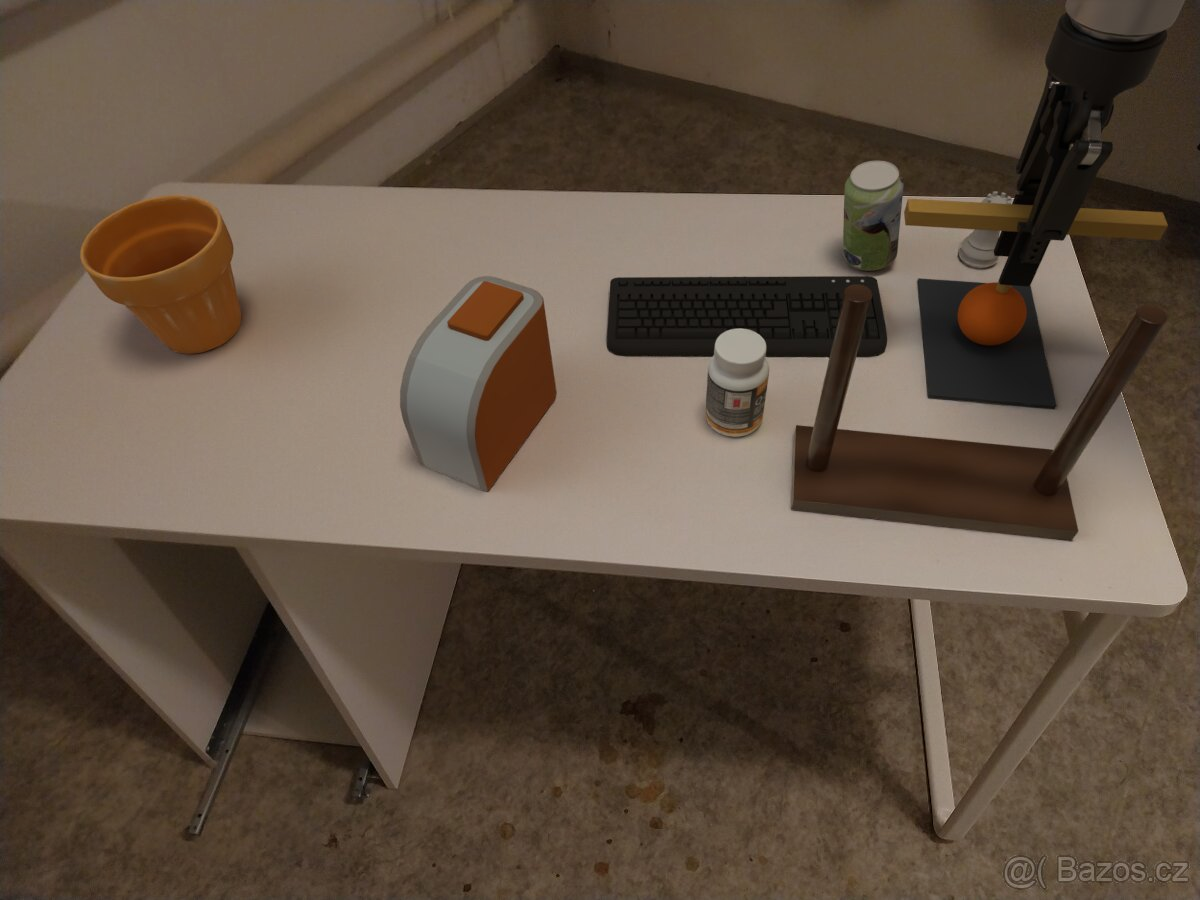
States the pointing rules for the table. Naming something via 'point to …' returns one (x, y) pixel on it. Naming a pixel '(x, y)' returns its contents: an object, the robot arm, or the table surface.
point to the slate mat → (981, 353)
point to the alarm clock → (478, 381)
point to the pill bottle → (737, 383)
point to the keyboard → (735, 314)
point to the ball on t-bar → (1001, 308)
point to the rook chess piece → (982, 240)
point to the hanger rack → (950, 452)
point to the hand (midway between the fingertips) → (1011, 268)
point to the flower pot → (168, 269)
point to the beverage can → (872, 215)
